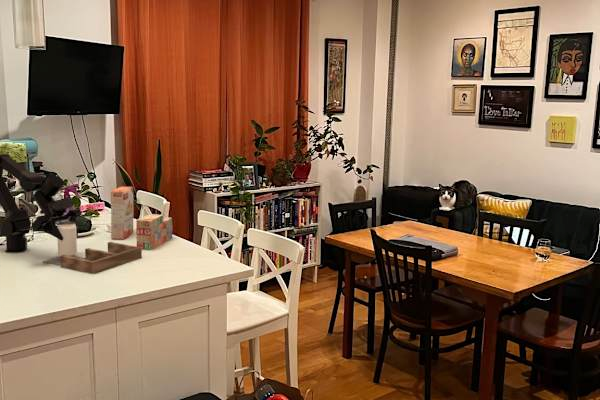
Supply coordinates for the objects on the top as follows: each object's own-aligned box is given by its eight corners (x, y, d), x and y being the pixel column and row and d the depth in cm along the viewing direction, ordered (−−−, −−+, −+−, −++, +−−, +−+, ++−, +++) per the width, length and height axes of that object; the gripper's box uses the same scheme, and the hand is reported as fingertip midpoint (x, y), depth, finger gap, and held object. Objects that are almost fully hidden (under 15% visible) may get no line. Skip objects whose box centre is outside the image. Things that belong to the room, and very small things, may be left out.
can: (61, 252, 217) (60, 220, 215) (79, 252, 217) (78, 221, 215) (55, 256, 210) (54, 224, 208) (73, 257, 211) (73, 225, 209)
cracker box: (124, 240, 248) (124, 191, 244) (110, 239, 248) (109, 190, 244) (134, 232, 261) (134, 186, 258) (121, 232, 261) (120, 185, 258)
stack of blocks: (159, 237, 255) (159, 209, 253) (172, 238, 254) (172, 210, 251) (136, 249, 234) (136, 219, 232) (151, 250, 233) (150, 220, 231)
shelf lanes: (60, 267, 207) (60, 256, 206) (110, 251, 229) (110, 241, 228) (93, 274, 200) (93, 262, 200) (141, 257, 222) (141, 247, 222)
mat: (43, 262, 212) (43, 261, 212) (67, 255, 222) (67, 254, 222) (62, 266, 208) (62, 265, 208) (85, 259, 218) (85, 258, 218)
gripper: (36, 194, 203) (60, 229, 200) (78, 187, 220) (100, 220, 217) (21, 213, 208) (44, 248, 205) (63, 205, 224) (85, 237, 222)
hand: (69, 237), depth 212 cm, fingers closed on can, 6 cm apart
